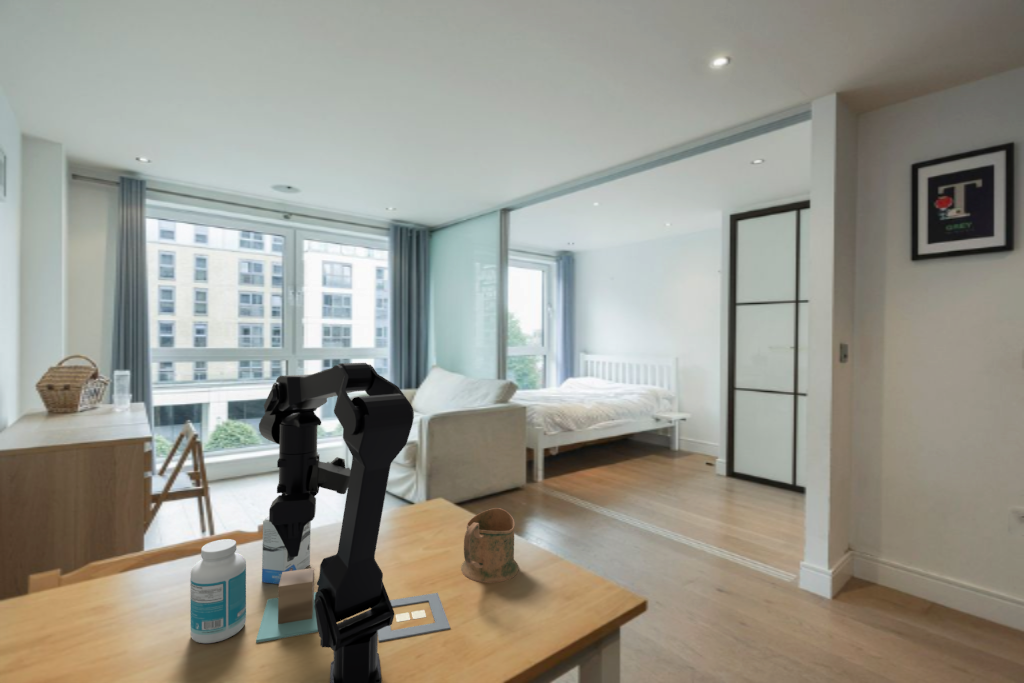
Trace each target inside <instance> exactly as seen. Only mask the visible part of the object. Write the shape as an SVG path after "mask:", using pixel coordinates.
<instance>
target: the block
mask: <svg viewBox="0 0 1024 683" xmlns="http://www.w3.org/2000/svg"><path fill="white" fill-rule="evenodd" d="M314 592H315V567H310V568H305V569H302V570H294V571H286V572H282V575H281V579H280V583H279V584H278V591H277V593H278V597H277V598H278V624H282V623H288V622H295V621H301V620H307V619H312V614H313V605H314Z"/></svg>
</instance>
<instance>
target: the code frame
mask: <svg viewBox="0 0 1024 683" xmlns="http://www.w3.org/2000/svg"><path fill="white" fill-rule="evenodd" d="M440 598H441V597H440V596H439V593H438V592H435V593H427V594H421V595H416V596H415V595H414V596H408V597H403V598H396V599H389V600H390V602H391V605H392V608H398V607H403V606H410V605H411V606H412V605H416V604H422V603H428V604H429V608H430V611H431V615H432V617H433V620H434V622H431V623H427V624H425V623H424V624H420V625H419V624H418V625H414V626H408V627H403V628H398V629H392V628H391V625H390V626H386V627H384V628H382V629H380V630H378V643H382V642H387V641H391V640H399V639H403V638H408V637H409V638H410V637H414V636H419V635H424V634H426V635H427V634H431V633H436V632H441V631H447V630H451V626H450V623H449V619H448V617H447V615H446V612H445V609H444V607H443V603H442V601H441V599H440ZM410 613H411V615H410ZM410 616H411V617H412V620H417V619H424V618H427V615H426V611H425V609H420V610H414V611H411V612H403V613H402V612H401V613H396V614H394V617H395V619H396V620H395V621H396V623H400V622H401V623H402V622H407V621H410V620H411V617H410Z"/></svg>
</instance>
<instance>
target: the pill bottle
mask: <svg viewBox="0 0 1024 683" xmlns="http://www.w3.org/2000/svg"><path fill="white" fill-rule="evenodd" d="M200 551H201V552H200V553H201V554H200V557H201V559H200V560H199V561H197V562H196V563H195V564H194V565H193V566H192V568H191V570H190V586H189V587H190V637H191V639H192V640H193V641H194V642H196V643H199V644H213V643H214V644H215V643H219V642H222V641H225V640H227V639H229V638H231V637H232V636H235V635H236V634H238V633H239V632H240V631H241V630H242V629H243V627H244V626H245V624H246V621H247V561H246V559H245V557H244V555H242V554H240V553H239V552H236V551H237V541H236V540H234V539H230V538H226V539H223V538H222V539H218V540H217V539H216V540H213V541H210V542H207V543H206V544H204V545H203V546H202V547H201V550H200Z"/></svg>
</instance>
